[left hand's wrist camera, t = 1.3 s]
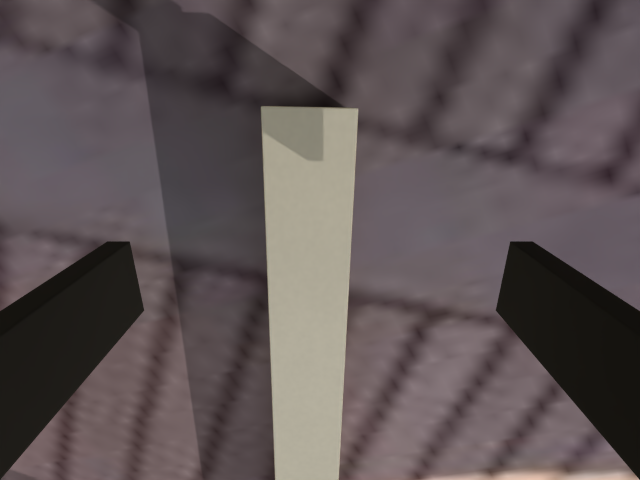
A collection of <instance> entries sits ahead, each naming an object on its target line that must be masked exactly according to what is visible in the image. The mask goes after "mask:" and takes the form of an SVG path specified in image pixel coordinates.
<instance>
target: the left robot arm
mask: <svg viewBox="0 0 640 480" xmlns="http://www.w3.org/2000/svg"><path fill="white" fill-rule="evenodd" d="M143 311H144V308H143V303H142V298H141V293H140V289H139V284H138V279H137V274H136V269H135V265H134V260H133V255H132V250H131V246H130V242H106V243H105V244H103V245H101V246H100V247H98V248H97V249H95V250H94V251H92V252H91V253H89V254H88V255H86V256H85V257H83V258H81V259H80V260H78V261H77V262H75V263H74V264H72V265H71V266H69V267H68V268H66V269H65V270H63V271H61V272H60V273H58V274H57V275H55V276H54V277H52V278H51V279H49V280H48V281H46V282H45V283H43V284H41V285H40V286H38V287H37V288H35V289H34V290H32V291H31V292H29V293H28V294H26V295H25V296H23V297H21V298H20V299H18V300H17V301H15V302H14V303H12V304H11V305H9V306H8V307H6V308H5V309H3V310H1V311H0V479H1V478H2V477H3V476H4V475H5V473H6V472H7V471H8V470H9V469H10V468H11V466H12V465H13V464H14V463H15V462H16V461H17V459H18V458H19V457H20V456H21V455H22V453H23V452H24V451H25V450H26V449H27V448H28V446H29V445H30V444H31V443H32V442H33V441H34V439H35V438H36V437H37V436H38V435H39V433H40V432H41V431H42V430H43V429H44V428H45V426H46V425H47V424H48V423H49V422H50V421H51V419H52V418H53V417H54V416H55V415H56V413H57V412H58V411H59V410H60V409H61V408H62V406H63V405H64V404H65V403H66V402H67V401H68V399H69V398H70V397H71V396H72V395H73V393H74V392H75V391H76V390H77V389H78V388H79V386H80V385H81V384H82V383H83V382H84V380H85V379H86V378H87V377H88V376H89V375H90V373H91V372H92V371H93V370H94V369H95V368H96V366H97V365H98V364H99V363H100V362H101V360H102V359H103V358H104V357H105V356H106V355H107V353H108V352H109V351H110V350H111V349H112V348H113V346H114V345H115V344H116V343H117V342H118V340H119V339H120V338H121V337H122V336H123V335H124V333H125V332H126V331H127V330H128V329H129V328H130V326H131V325H132V324H133V323H134V322H135V320H136V319H137V318H138V317H139V316H140V315H141V313H142V312H143ZM496 311H497V312H498V313H499V315H500V316H501V317H502V318H503V319H504V320H505V322H506V323H507V324H508V325H509V326H510V328H511V329H512V330H513V331H514V332H515V333H516V335H517V336H518V337H519V338H520V339H521V340H522V342H523V343H524V344H525V345H526V346H527V348H528V349H529V350H530V351H531V352H532V353H533V355H534V356H535V357H536V358H537V359H538V360H539V362H540V363H541V364H542V365H543V366H544V368H545V369H546V370H547V371H548V372H549V373H550V375H551V376H552V377H553V378H554V379H555V381H556V382H557V383H558V384H559V385H560V386H561V388H562V389H563V390H564V391H565V392H566V393H567V395H568V396H569V397H570V398H571V399H572V401H573V402H574V403H575V404H576V405H577V406H578V408H579V409H580V410H581V411H582V412H583V413H584V415H585V416H586V417H587V418H588V419H589V421H590V422H591V423H592V424H593V425H594V426H595V428H596V429H597V430H598V431H599V432H600V433H601V435H602V436H603V437H604V438H605V439H606V441H607V442H608V443H609V444H610V445H611V446H612V448H613V449H614V450H615V451H616V452H617V453H618V455H619V456H620V457H621V458H622V459H623V461H624V462H625V463H626V464H627V465H628V466H629V468H630V469H631V470H632V471H633V472H634V473H635V475H636V476H637V477H638V478H639V479H640V311H639V310H637V309H635V308H634V307H632V306H631V305H629V304H628V303H626V302H625V301H623V300H622V299H620V298H619V297H617V296H615V295H614V294H612V293H611V292H609V291H608V290H606V289H605V288H603V287H602V286H600V285H599V284H597V283H595V282H594V281H592V280H591V279H589V278H588V277H586V276H585V275H583V274H582V273H580V272H579V271H577V270H575V269H574V268H572V267H571V266H569V265H568V264H566V263H565V262H563V261H562V260H560V259H559V258H557V257H555V256H554V255H552V254H551V253H549V252H548V251H546V250H545V249H543V248H542V247H540V246H539V245H537V244H535V243H534V242H510V246H509V250H508V255H507V260H506V265H505V269H504V274H503V279H502V284H501V289H500V293H499V298H498V303H497V308H496Z"/></svg>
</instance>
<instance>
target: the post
mask: <svg viewBox="0 0 640 480" xmlns="http://www.w3.org/2000/svg"><path fill="white" fill-rule="evenodd" d="M261 123H262V149H263V176H264V202H265V228H266V254H267V280H268V306H269V333H270V359H271V385H272V411H273V437H274V463H275V480H339V461H340V442H341V424H342V405H343V386H344V368H345V349H346V330H347V311H348V293H349V274H350V255H351V237H352V218H353V199H354V181H355V162H356V143H357V125H358V108H341V107H290V106H261Z"/></svg>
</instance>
